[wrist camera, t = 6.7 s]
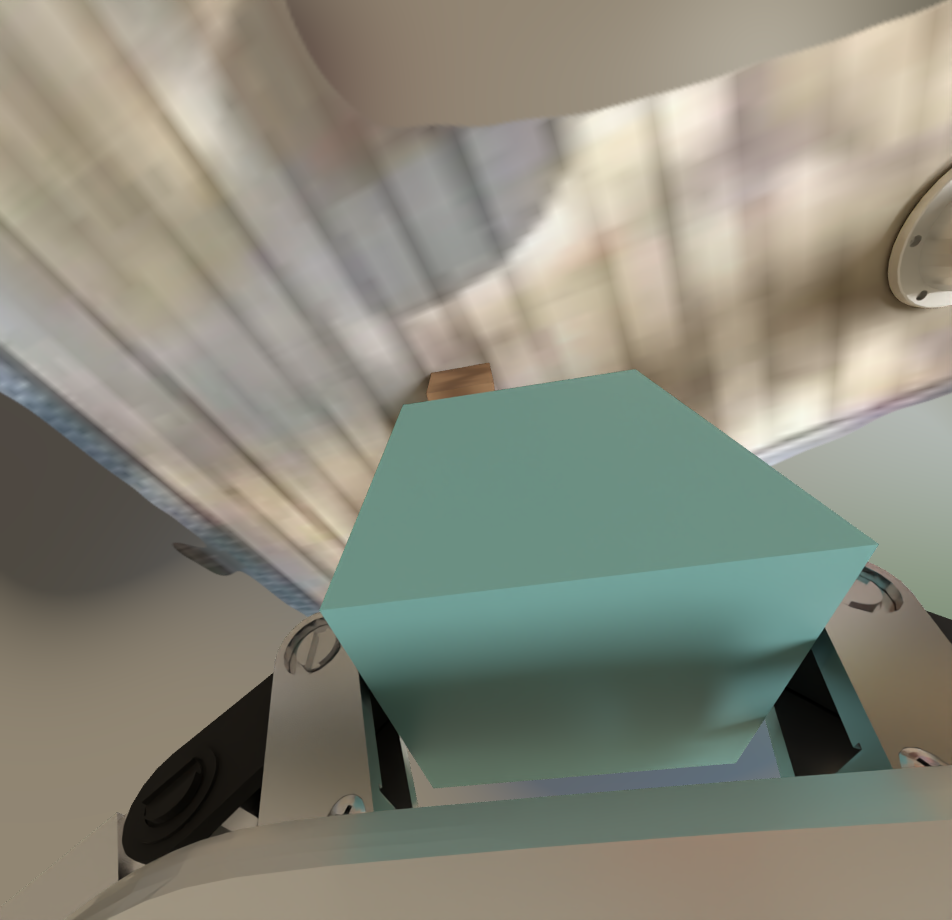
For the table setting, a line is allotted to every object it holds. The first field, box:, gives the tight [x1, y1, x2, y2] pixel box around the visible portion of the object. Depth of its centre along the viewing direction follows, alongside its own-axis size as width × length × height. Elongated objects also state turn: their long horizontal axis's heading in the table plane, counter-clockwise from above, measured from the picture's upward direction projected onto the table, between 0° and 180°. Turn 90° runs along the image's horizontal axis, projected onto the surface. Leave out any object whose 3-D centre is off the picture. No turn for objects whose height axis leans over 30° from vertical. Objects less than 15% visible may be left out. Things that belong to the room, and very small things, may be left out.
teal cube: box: [319, 369, 879, 788], centre depth 8 cm, size 6×6×6 cm
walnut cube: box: [426, 363, 495, 401], centre depth 34 cm, size 6×6×6 cm
